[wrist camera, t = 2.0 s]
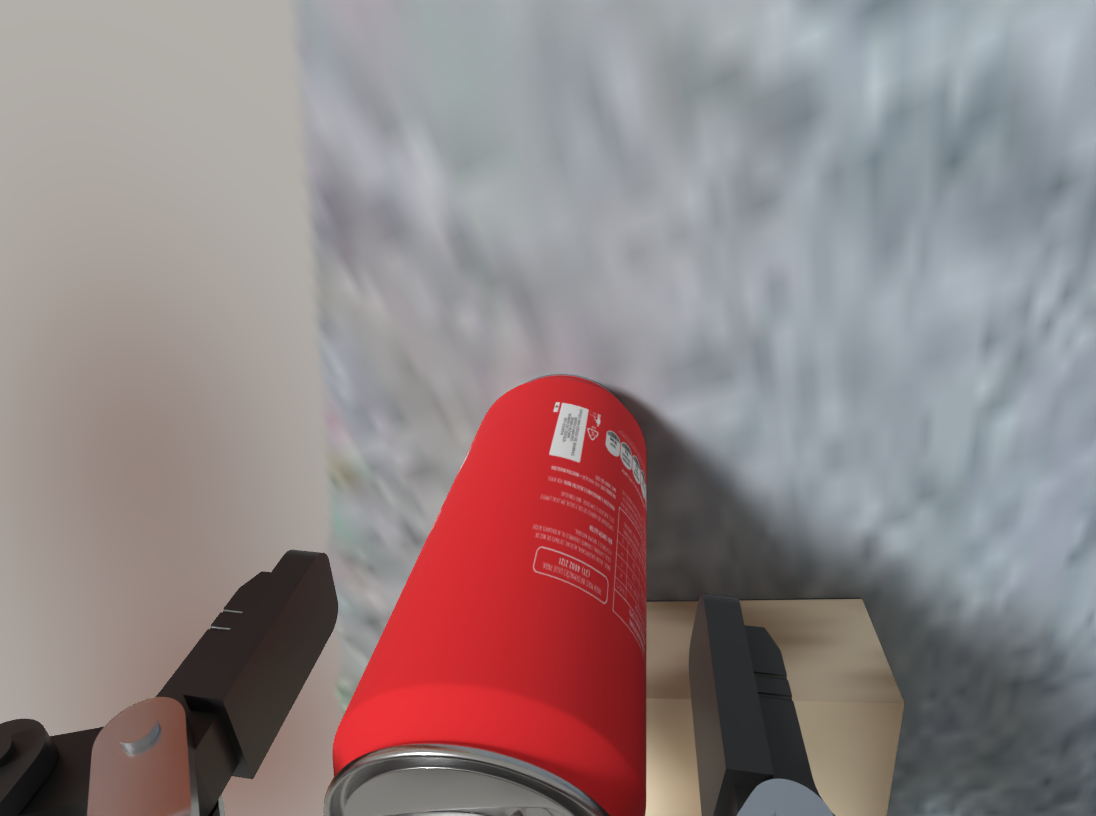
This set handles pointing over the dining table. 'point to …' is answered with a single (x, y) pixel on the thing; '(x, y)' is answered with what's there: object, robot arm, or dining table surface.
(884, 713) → the beech block
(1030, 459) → the dining table surface
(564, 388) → the beverage can
